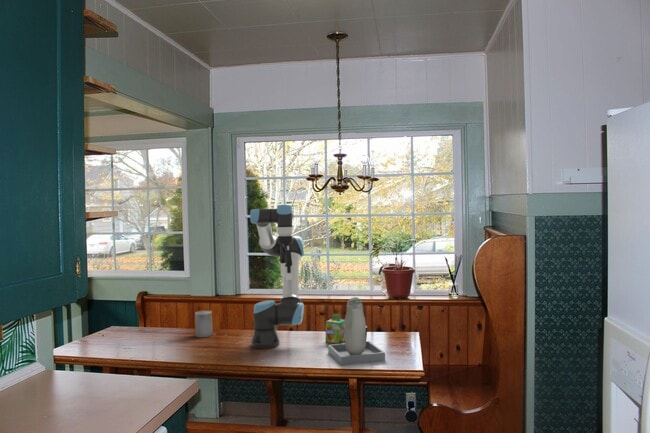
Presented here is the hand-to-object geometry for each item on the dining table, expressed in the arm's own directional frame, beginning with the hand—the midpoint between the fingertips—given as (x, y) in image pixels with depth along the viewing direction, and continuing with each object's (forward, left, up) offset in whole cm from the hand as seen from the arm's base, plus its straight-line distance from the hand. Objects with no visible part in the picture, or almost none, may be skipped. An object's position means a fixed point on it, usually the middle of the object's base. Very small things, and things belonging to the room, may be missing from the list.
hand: (286, 277), depth 265 cm
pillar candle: (-55, -39, -39) cm, 78 cm away
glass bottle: (+15, +31, -38) cm, 51 cm away
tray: (+15, +31, -39) cm, 52 cm away
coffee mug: (-5, +40, -39) cm, 56 cm away
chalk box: (-16, +30, -39) cm, 52 cm away
